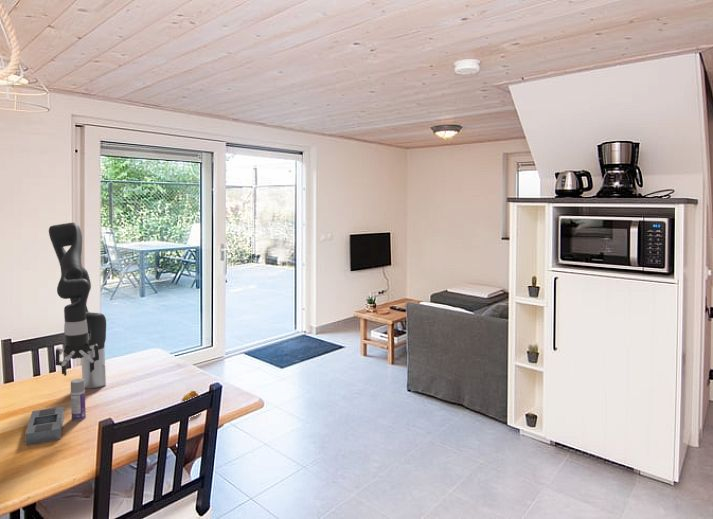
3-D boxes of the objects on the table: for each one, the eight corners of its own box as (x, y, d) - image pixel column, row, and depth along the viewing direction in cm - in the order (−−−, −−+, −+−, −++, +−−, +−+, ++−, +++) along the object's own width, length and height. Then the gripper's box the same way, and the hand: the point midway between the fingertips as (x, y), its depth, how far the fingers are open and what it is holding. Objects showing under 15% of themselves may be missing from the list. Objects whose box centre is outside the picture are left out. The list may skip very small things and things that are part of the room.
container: (82, 414, 187) (80, 377, 186) (88, 417, 185) (86, 380, 183) (69, 418, 184) (67, 380, 182) (75, 422, 181) (73, 383, 179)
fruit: (209, 404, 194) (201, 386, 195) (192, 413, 188) (184, 394, 188) (198, 409, 199) (190, 392, 200) (181, 418, 192) (173, 400, 193)
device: (63, 416, 185) (63, 406, 185) (60, 439, 168) (59, 428, 167) (32, 421, 180) (32, 410, 180) (25, 445, 163) (25, 434, 162)
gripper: (97, 327, 187) (99, 367, 189) (54, 331, 180) (56, 372, 182) (97, 332, 180) (99, 373, 182) (53, 336, 173) (55, 379, 175)
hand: (78, 373), depth 182 cm, fingers open, 8 cm apart
